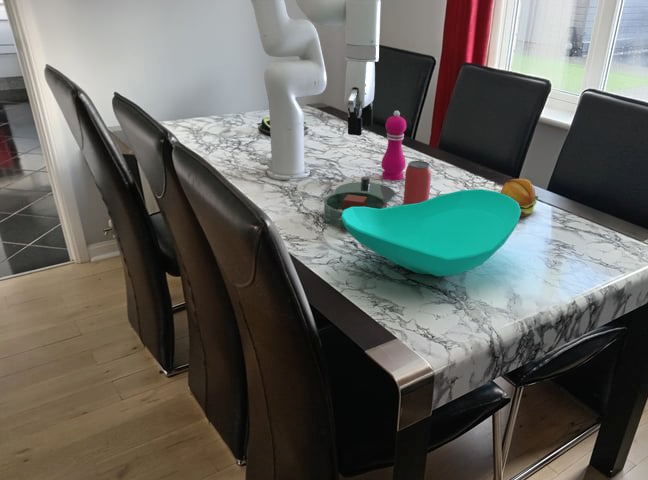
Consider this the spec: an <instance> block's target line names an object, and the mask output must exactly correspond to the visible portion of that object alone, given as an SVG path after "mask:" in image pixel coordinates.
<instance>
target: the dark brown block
mask: <svg viewBox="0 0 648 480" xmlns="http://www.w3.org/2000/svg"><path fill="white" fill-rule="evenodd" d="M350 207H367V197H363V196H356V195H349V194H348V195H347V196H346V197H345V198H344V200H343V207H342V211H343V210H345V209H347V208H350Z"/></svg>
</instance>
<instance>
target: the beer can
mask: <svg viewBox="0 0 648 480" xmlns="http://www.w3.org/2000/svg"><path fill="white" fill-rule="evenodd" d="M407 164H408V165H407V167H406V168H405V174H404V190H403V202H402V205H408V204H416V203H421V202H424V201H426V200H429V199H430V190H431V179H432V170H431V167H430V166H431V163H429V162H427V161H424V160H411V161H409V162H408V163H407Z"/></svg>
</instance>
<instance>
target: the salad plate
mask: <svg viewBox="0 0 648 480" xmlns="http://www.w3.org/2000/svg"><path fill="white" fill-rule="evenodd" d="M305 124H307V122H306V121H304V135H305V134H306V133H307V132H309V131H310V127H308V126H305ZM256 125H257V129H258V130H259V132H260V134H262V135H265V136H267V137H269V138H271V133H270V118H267V117H263V118H262V120H261V122H258V123H256Z"/></svg>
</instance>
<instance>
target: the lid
mask: <svg viewBox="0 0 648 480" xmlns="http://www.w3.org/2000/svg"><path fill="white" fill-rule="evenodd" d="M346 191H359V192H361V191H368V192H371V194H375V195H378V196H380V197H381V198H383V199H385V201H386V203H388V202H390V201H392V200H393V199H394V198H395V195H396V193H395V190H394V189H393V188H391V187H390V186H388V185H384V184H382V183H376V182H372V181H371V177H369V176H361V177H360V181H355V182H354V181H353V182H347V183H344V184H341V185H339V186H337V187H336V189H335V190H334V193H339V192H346Z"/></svg>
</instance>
